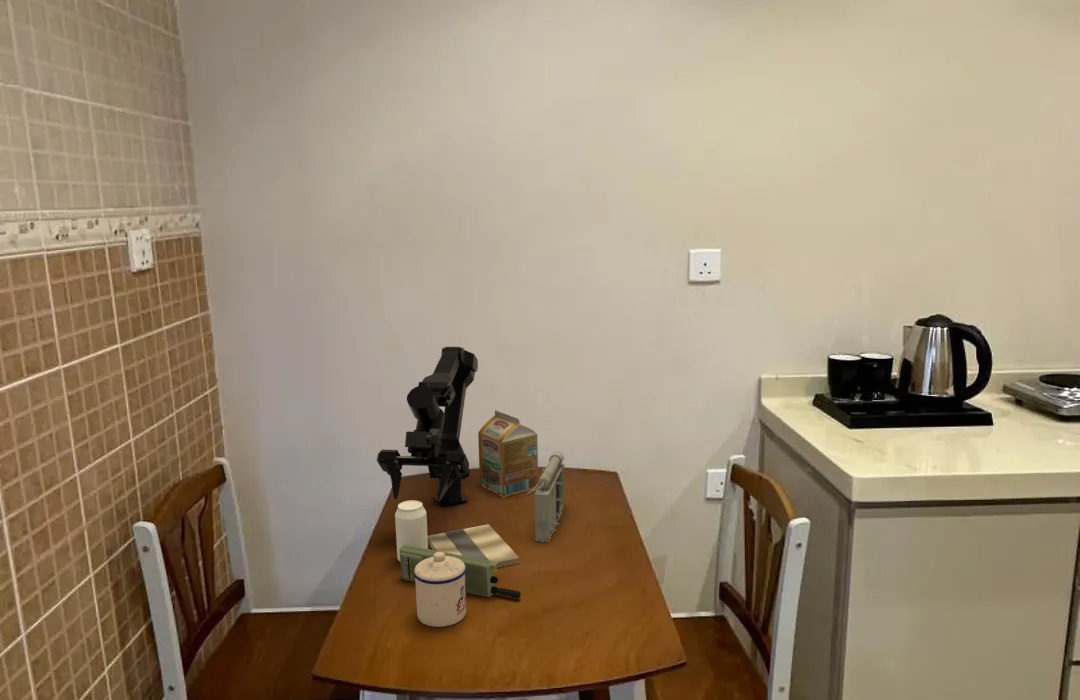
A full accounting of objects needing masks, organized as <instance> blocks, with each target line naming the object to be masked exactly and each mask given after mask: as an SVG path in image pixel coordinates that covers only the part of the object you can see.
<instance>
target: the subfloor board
mask: <svg viewBox="0 0 1080 700" xmlns="http://www.w3.org/2000/svg"><path fill="white" fill-rule="evenodd" d="M427 536H428V546H430V548H431V550H435V551H440V552H446V553H451V554H457V555H462V556H467V557H473V558H478V559H484V560H489V561H494V562H497V564H496V565H495V566H493V567H494V568H497V569H499V568H498V567H500V568H503V566H504V567H507V566H508V565H509V566H513V565H517V564H520V557H519V555H518V554H517V553H516V552H515V551H514V550H513V549H512V548H511V547H510V546H509V544H508V543H506V542H505V541H504V540H503V538H502V537H501V536H500V535H499V534H498V533H497V532H496V531H495V529H494V528H493V527H492V526H490V524H488V523H487V524H483V525H477V526H473V527H468V528H458V529H452V530H448V531H444V532H442V533H436V534H431V535H427Z"/></svg>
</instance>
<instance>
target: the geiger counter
mask: <svg viewBox="0 0 1080 700" xmlns="http://www.w3.org/2000/svg"><path fill="white" fill-rule="evenodd" d="M564 459H565V458H564V454H563V452H561V451H557V450H556V451H553V452H552V454H551V455H550V456H549V459H548V463H547V465H546V467H544V468H542V474H541V475H540V477H539V478H538V484H537V485H536V486H535V487H534V488H533V489H532V490H529V491H527V493H525V496H526V497H528V496H530V495H531V494H532V493H533V492H534V514H535V515H534V522H535V523H534V529H535V530H534V533H535V535H534V537H535V538H534V539H535V542H538V541H540V543H550V541H551V539H552V537H553V535H552V534H554V532H557V531H558V530H557V529H556V528H555V527H557V526H558V525H561V524H560V523H559V521H560V519H559V518H561V516H562V515H563V514H564V513H563V512H561V511H562V508H563V506H566V505H565V502H566V501H565V499H566V498H565V488H566V487H565V463H563V462H564ZM537 487H538V488H537ZM561 513H562V514H561ZM560 515H561V516H560ZM558 520H559V521H558ZM551 536H552V537H551Z"/></svg>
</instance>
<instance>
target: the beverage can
mask: <svg viewBox="0 0 1080 700" xmlns="http://www.w3.org/2000/svg"><path fill="white" fill-rule="evenodd" d="M427 516H428V515H427V510H426V509H425V507H424V505H423V502H422V501H419V500H415V499H414V500H413V499H409V500H405V501H402V502H400V503H398V505H397V509H396V512H395V513H394V519H395V520H394V521H395V523H394V524H395V535H396V536H395V539H396V540H395V541H396V553H397V555H396V557H397V560H398V561H399V562H400V551H399V549H400V548H401V547H402V546H403V545H408V546H413V547H419V548H424V549H429V544H428V536H429V535H428V521H427V520H428V519H427V518H428V517H427Z"/></svg>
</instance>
